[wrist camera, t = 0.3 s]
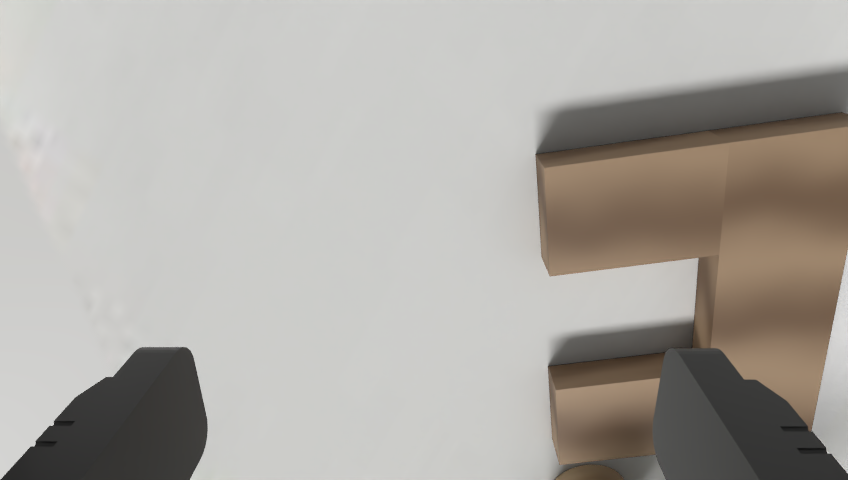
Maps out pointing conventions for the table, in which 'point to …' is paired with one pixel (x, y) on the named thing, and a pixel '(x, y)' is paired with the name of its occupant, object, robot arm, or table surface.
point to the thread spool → (590, 473)
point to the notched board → (702, 261)
